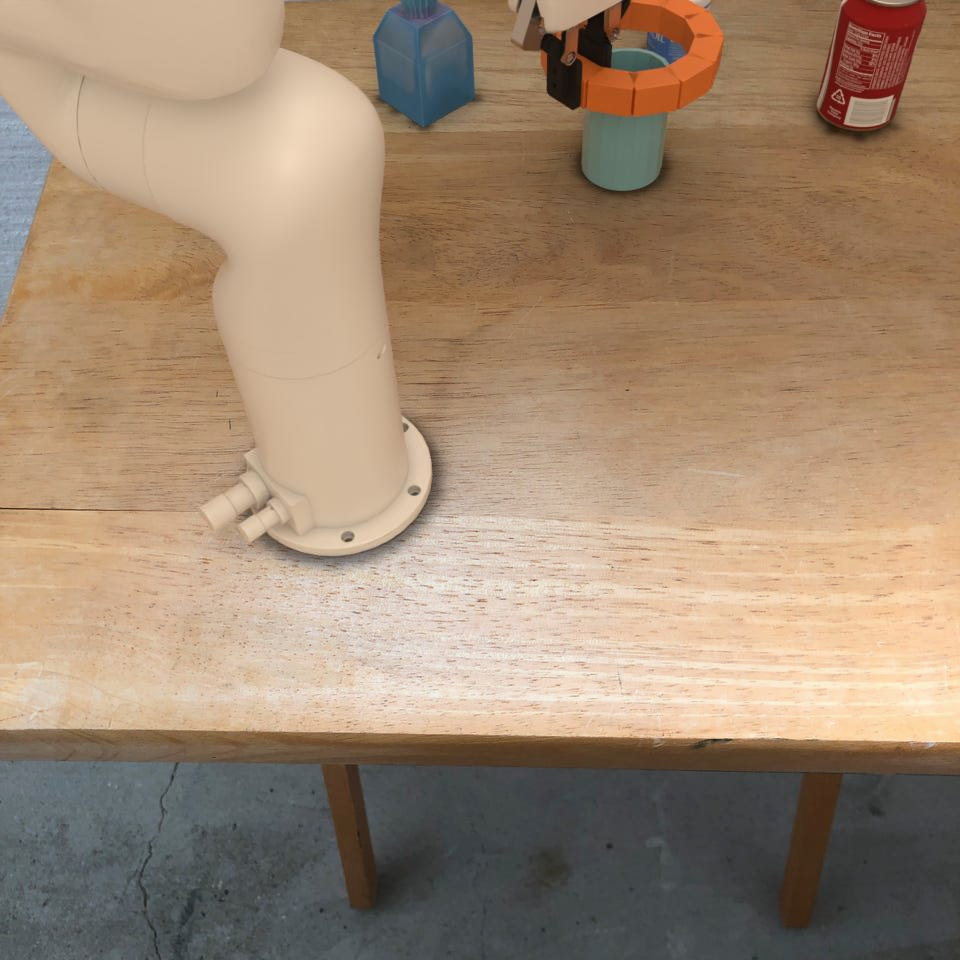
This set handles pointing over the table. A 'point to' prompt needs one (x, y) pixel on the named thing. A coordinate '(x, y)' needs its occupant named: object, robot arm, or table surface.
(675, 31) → the ring
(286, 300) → the robot arm
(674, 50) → the pill bottle
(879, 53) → the soda can
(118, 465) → the table surface
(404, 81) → the perfume bottle
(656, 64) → the cup
